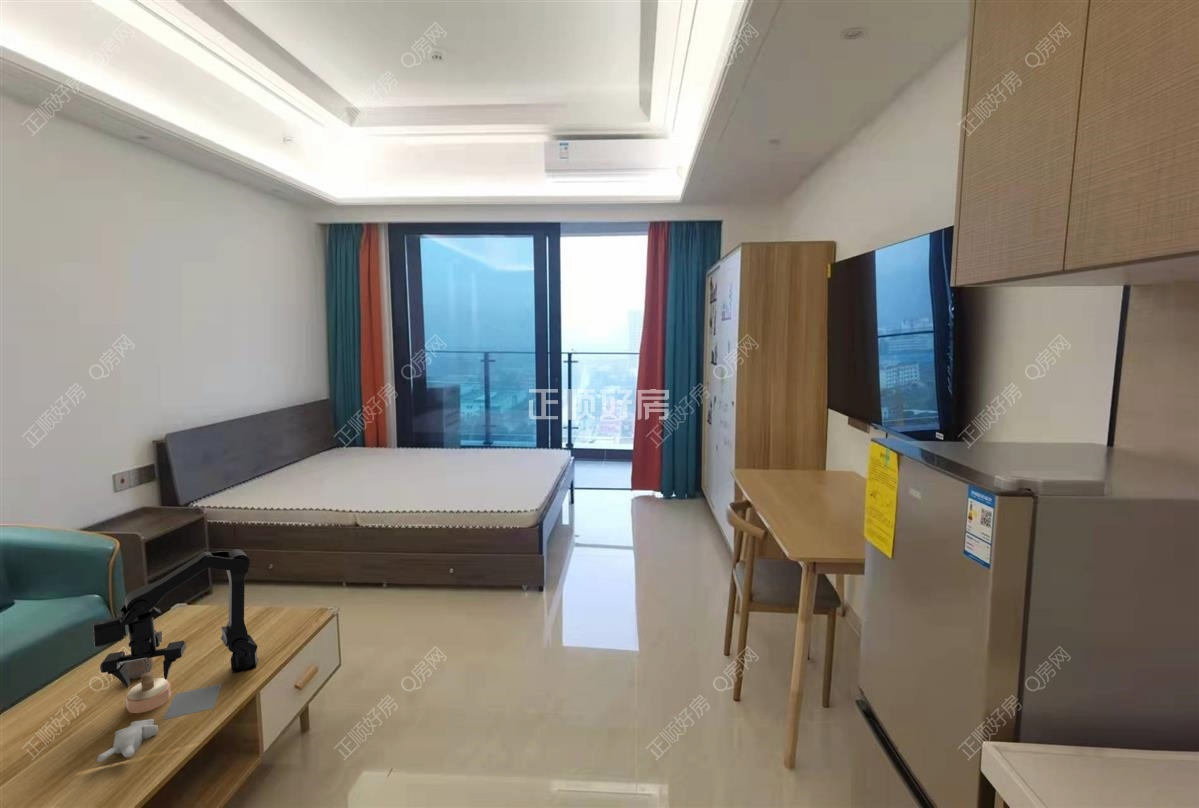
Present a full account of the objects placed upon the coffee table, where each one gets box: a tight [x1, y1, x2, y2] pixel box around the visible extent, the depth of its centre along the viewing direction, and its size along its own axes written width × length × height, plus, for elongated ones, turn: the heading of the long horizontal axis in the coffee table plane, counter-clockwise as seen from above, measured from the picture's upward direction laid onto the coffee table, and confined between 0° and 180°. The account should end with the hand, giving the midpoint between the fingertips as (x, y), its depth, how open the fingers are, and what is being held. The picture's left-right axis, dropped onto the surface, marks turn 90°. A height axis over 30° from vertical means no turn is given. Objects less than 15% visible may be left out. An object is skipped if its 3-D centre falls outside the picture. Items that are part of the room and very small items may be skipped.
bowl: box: [125, 679, 173, 714], centre depth 163 cm, size 10×10×4 cm
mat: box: [162, 683, 223, 721], centre depth 163 cm, size 12×12×1 cm
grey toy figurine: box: [96, 718, 159, 763], centre depth 146 cm, size 10×5×15 cm
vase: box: [127, 657, 154, 680], centre depth 175 cm, size 7×7×9 cm
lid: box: [127, 671, 168, 701], centre depth 162 cm, size 9×9×5 cm
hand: (147, 682), depth 162 cm, fingers open, 9 cm apart
